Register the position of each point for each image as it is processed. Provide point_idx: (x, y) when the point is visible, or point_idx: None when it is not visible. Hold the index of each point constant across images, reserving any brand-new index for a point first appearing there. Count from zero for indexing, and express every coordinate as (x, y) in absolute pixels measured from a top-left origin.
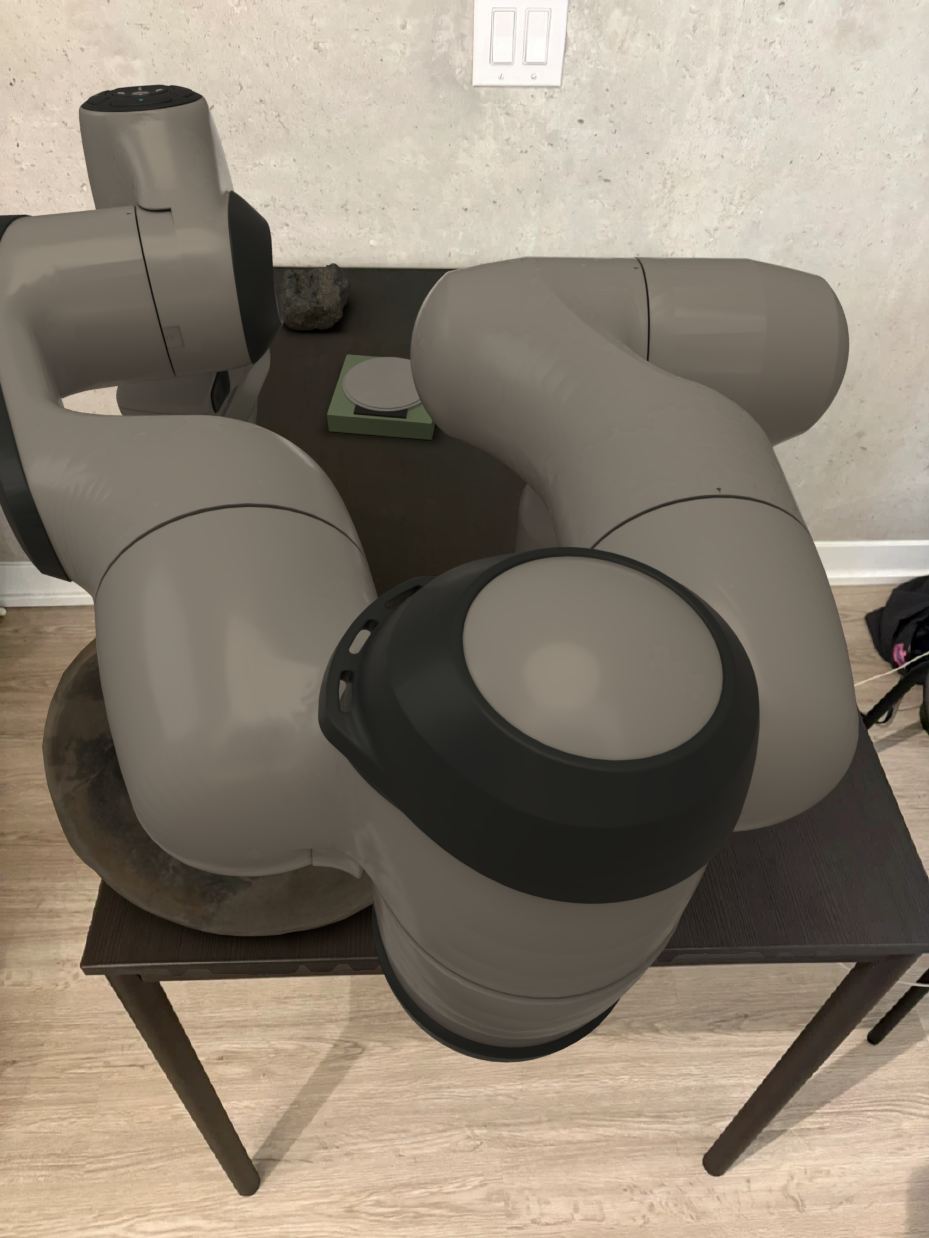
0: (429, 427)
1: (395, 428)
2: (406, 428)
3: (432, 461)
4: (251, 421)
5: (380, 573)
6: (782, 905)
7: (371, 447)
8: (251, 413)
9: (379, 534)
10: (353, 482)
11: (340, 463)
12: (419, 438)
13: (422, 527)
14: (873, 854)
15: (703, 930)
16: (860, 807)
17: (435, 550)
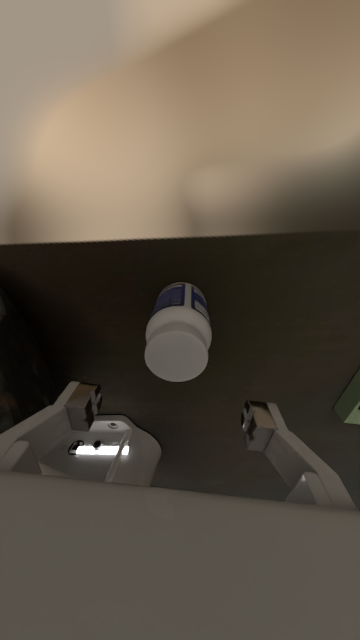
0: (341, 417)
1: (352, 394)
2: (348, 402)
3: (307, 407)
4: (270, 457)
5: (193, 380)
6: None
7: (339, 372)
8: (282, 472)
9: (232, 379)
10: (296, 362)
11: (325, 352)
12: (337, 401)
13: (236, 401)
14: None
15: None
16: None
17: (214, 407)
